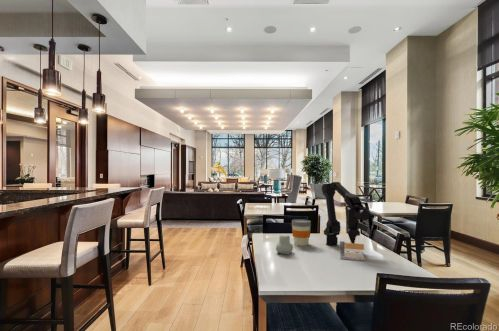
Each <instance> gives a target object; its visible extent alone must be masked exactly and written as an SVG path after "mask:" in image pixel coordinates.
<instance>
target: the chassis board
mask: <svg viewBox="0 0 499 331" xmlns="http://www.w3.org/2000/svg"><path fill="white" fill-rule="evenodd" d="M339 254H340V259H341V260H348V261H349V260H350V261H358V262H365V261H366V260H365V256H364V253H363V250H358V249H346V248H345V249H341V248H340V247H339Z"/></svg>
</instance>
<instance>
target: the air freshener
mask: <svg viewBox="0 0 499 331" xmlns="http://www.w3.org/2000/svg"><path fill="white" fill-rule="evenodd" d="M290 238H291V236H290V235H289V234H284V233H283V234H280V235H279V242H277V243H276V246H275V251H276V252H277V253H279V254H282V255H289V254H291V253H292V252H293V248H294V246H293V243H291V239H290Z"/></svg>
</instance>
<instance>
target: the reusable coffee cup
mask: <svg viewBox="0 0 499 331" xmlns="http://www.w3.org/2000/svg"><path fill="white" fill-rule="evenodd" d="M311 226H312V221H311V220H308V219H302V218H301V219H299V218H297V219H296V218H295V219H292V220H291V227H292V228H291V232H292V237H293V243H294V245H295V246H303V247H304V246H308V245H309V241H310V240H309V239H310V237H311Z"/></svg>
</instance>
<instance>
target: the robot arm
mask: <svg viewBox="0 0 499 331" xmlns="http://www.w3.org/2000/svg"><path fill="white" fill-rule="evenodd" d="M321 191H322V194H323V196H324V197H325V203H326V204H325V205H326V209H327V218H328V219H327V222H326V223H325V224H326V225H325V226H326V227H325V228H324V230H323V235H324V236H326V245H325V246H333V247H337V246H338V243H339V242H338V239H339V237H338V236H339V235H340V233H341V228H342V227H341V222H340V221H338V219H337V215H336V214H337V213H336V207H335V199H334V197H335V194H336V192H337V193H338V194H339V195H340V196H341V197H342V198H343V200H344V203H345V204H346V207H345V210H347V225H346V230H347V231H346V232H347V236H348V239H349V240H350V243H355V242H356V239H357V236H358V237H360V236H361V231H360V230H362V231H364V232H368V231H369V228H370V226H369V225H367V223H366V221H368V220H369V218H370V213H369V211H368V210H367V208H366V207H364V205H363V203H362V201H361V198H360V197H359V196H358V195H356V194H354V193H351V192H350V191H349V190H347V189H346V188H345V186H343V185H342V183H341V182H339V181H332V182H329V183H324V184H322V186H321ZM359 220H361V221H362V222H360V221H359Z"/></svg>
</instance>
